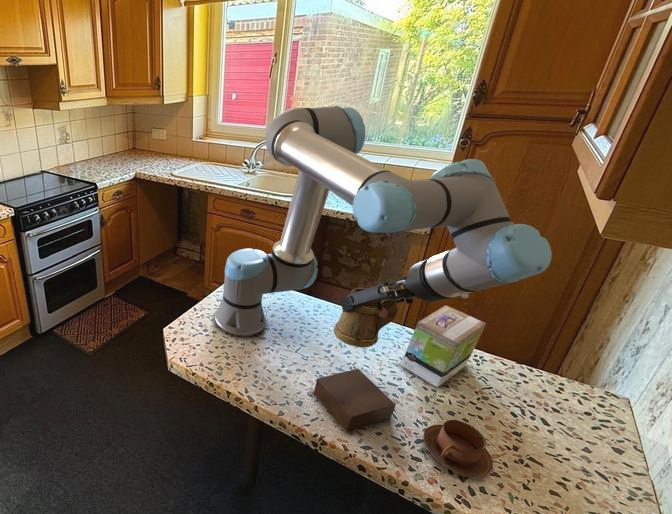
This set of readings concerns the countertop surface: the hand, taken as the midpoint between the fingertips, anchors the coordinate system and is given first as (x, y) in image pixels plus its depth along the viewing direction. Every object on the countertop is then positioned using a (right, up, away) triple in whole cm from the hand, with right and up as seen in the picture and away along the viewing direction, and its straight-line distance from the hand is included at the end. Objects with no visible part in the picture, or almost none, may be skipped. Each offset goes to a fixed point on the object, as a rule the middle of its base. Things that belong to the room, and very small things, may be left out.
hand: (362, 303), depth 90 cm
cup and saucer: (+16, -31, -6) cm, 36 cm away
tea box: (+28, -19, +18) cm, 38 cm away
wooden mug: (+1, -9, +1) cm, 9 cm away
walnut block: (0, -25, +5) cm, 26 cm away
